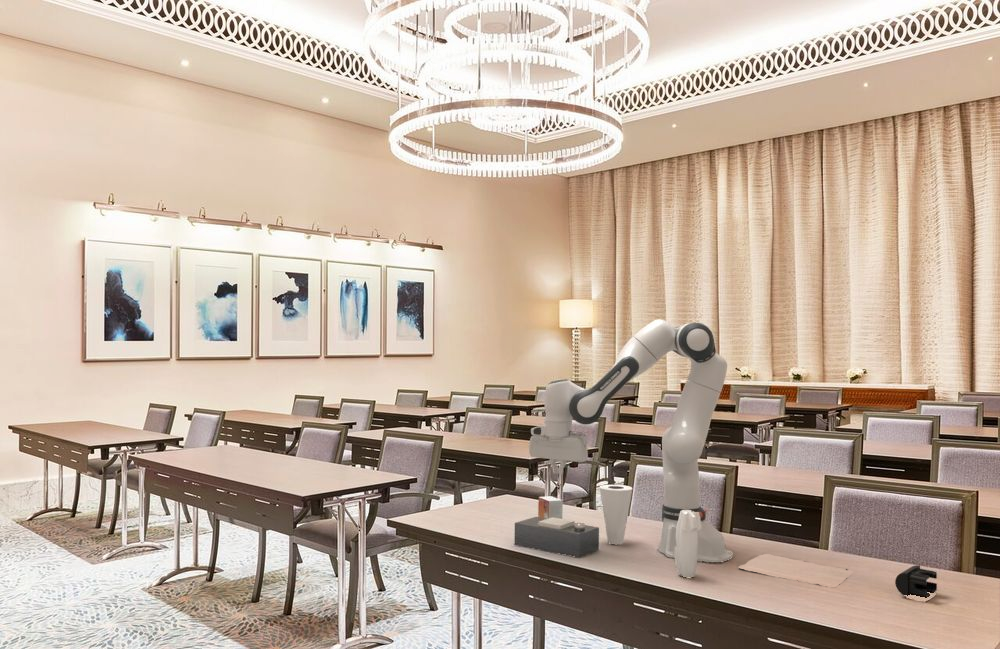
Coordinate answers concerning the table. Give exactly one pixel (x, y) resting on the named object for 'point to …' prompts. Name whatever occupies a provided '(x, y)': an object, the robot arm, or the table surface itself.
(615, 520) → the cup
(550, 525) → the push button
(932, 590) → the end cap
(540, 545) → the console
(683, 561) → the white spray bottle
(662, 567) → the table surface
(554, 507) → the small box
